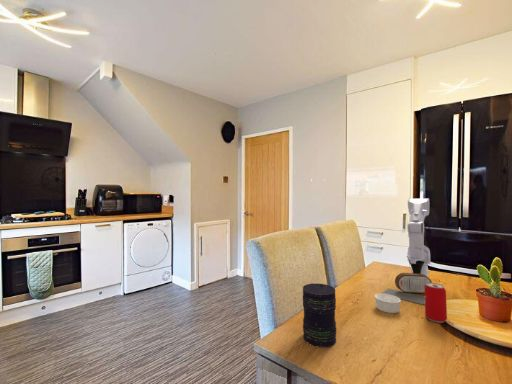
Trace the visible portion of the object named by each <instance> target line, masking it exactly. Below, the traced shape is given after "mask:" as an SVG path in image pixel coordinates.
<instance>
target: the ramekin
mask: <svg viewBox="0 0 512 384" xmlns="http://www.w3.org/2000/svg"><path fill="white" fill-rule="evenodd" d="M374 298H375V305H376V308H377V309H378V310H379V311H381V312H384V313H389V314H397V313H399V312H400V311H401V309H400V308H401V302H402V300H401V299H399V298H398V297H396V296H393V295H389V294H381V293H376V294H375V295H374Z"/></svg>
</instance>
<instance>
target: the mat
mask: <svg viewBox="0 0 512 384" xmlns="http://www.w3.org/2000/svg"><path fill="white" fill-rule="evenodd" d="M380 294H389V295H393V296H396V297H398V298H399V299H400V300H401V301H405V302H409V303H414V304H418V305H422V306H425V295H419V294H417V293H407V292H403V291H401V290H399V289H393V288H387V289H385V290H384V291H383V292H381V293H380Z"/></svg>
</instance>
